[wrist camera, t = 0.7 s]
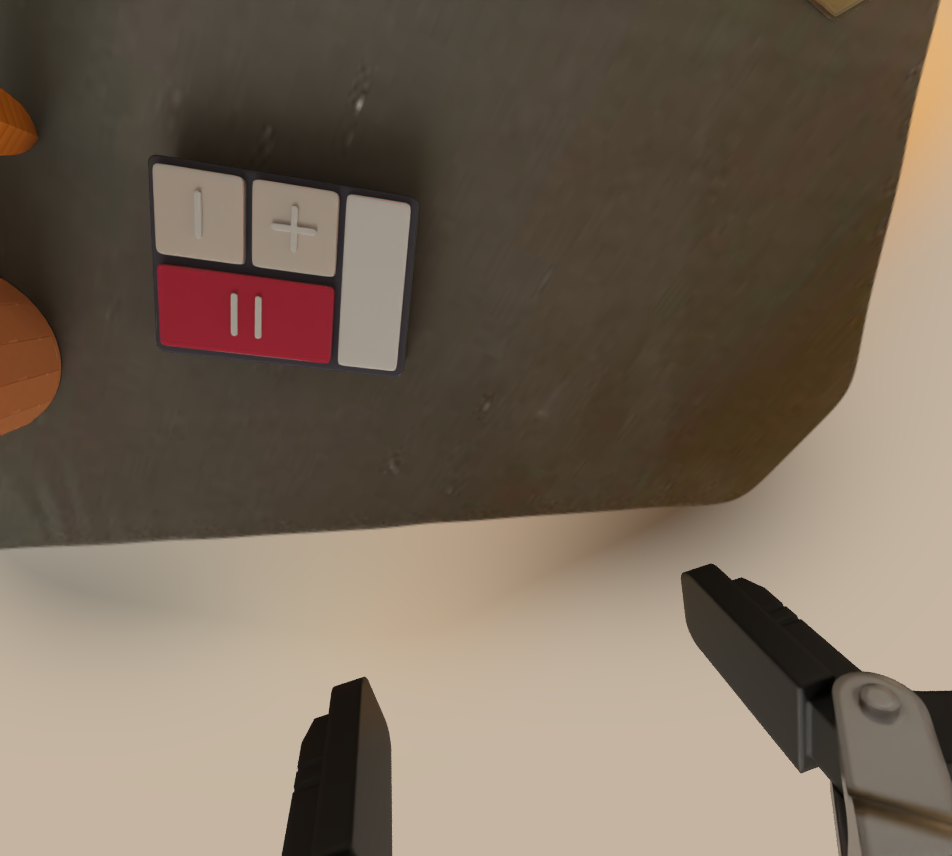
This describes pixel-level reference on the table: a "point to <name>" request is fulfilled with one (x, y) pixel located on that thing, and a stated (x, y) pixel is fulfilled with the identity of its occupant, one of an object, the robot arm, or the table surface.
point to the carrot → (15, 127)
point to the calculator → (280, 268)
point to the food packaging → (838, 7)
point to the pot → (25, 360)
